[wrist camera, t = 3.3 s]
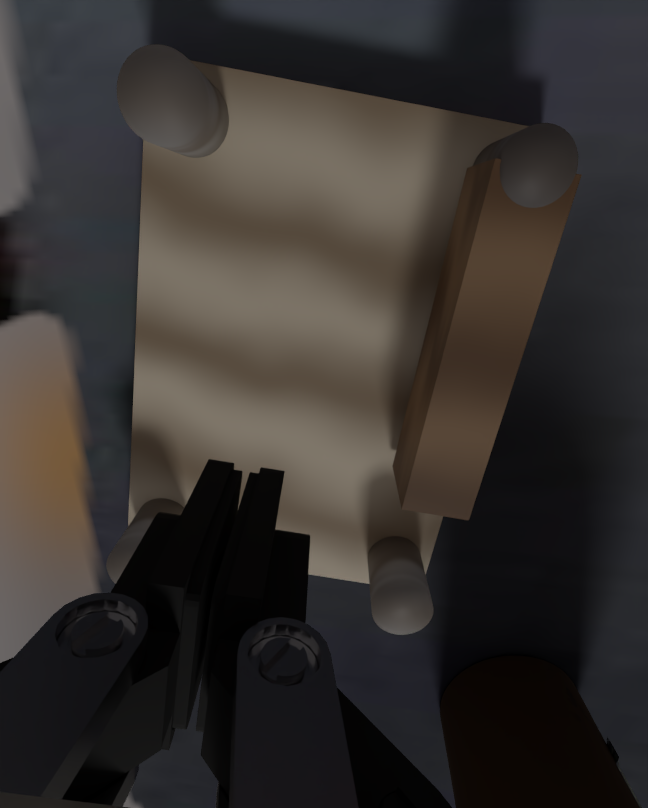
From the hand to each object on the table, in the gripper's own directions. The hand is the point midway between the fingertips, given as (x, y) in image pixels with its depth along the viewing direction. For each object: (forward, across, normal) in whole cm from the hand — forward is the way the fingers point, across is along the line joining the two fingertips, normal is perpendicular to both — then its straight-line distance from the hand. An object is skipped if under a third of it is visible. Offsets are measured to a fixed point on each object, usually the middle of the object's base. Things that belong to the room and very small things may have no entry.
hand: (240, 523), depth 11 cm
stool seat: (+16, -1, +1) cm, 16 cm away
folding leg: (+13, -8, -3) cm, 16 cm away
